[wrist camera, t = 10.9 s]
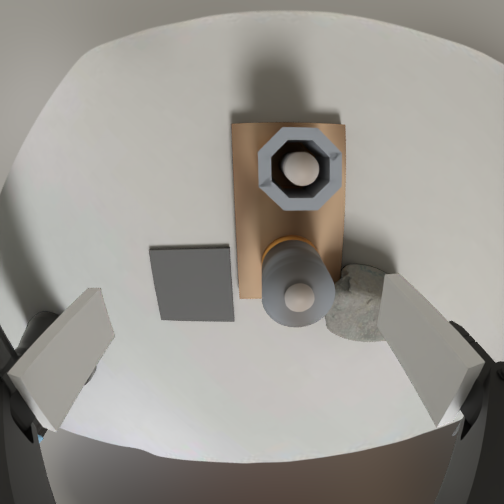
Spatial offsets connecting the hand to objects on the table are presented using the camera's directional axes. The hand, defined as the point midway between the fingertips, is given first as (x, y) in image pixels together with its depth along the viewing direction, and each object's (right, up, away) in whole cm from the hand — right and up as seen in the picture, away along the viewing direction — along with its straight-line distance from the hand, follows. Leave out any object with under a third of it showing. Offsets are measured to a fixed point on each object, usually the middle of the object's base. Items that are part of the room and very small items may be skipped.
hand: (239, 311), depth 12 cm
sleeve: (+4, +12, +17) cm, 21 cm away
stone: (+14, -3, +24) cm, 28 cm away
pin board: (+5, +7, +20) cm, 22 cm away
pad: (-7, -2, +23) cm, 24 cm away
